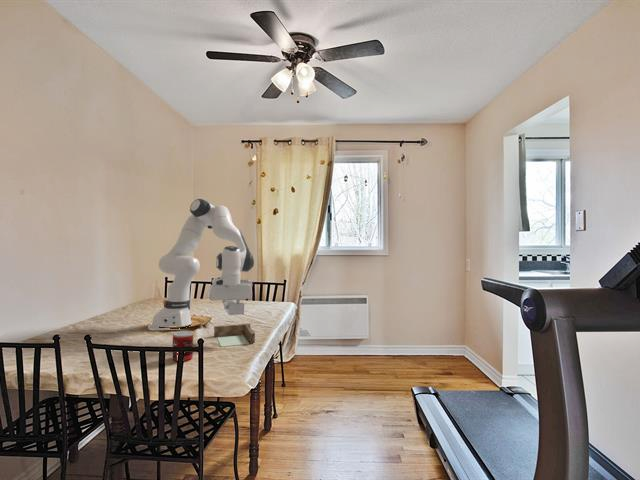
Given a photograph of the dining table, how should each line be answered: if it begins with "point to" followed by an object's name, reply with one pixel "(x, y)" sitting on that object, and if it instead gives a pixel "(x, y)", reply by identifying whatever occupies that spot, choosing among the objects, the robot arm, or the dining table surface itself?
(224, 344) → the pad
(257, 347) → the dining table surface
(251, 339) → the arena
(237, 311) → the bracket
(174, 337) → the canned food
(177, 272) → the robot arm
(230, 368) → the dining table surface
